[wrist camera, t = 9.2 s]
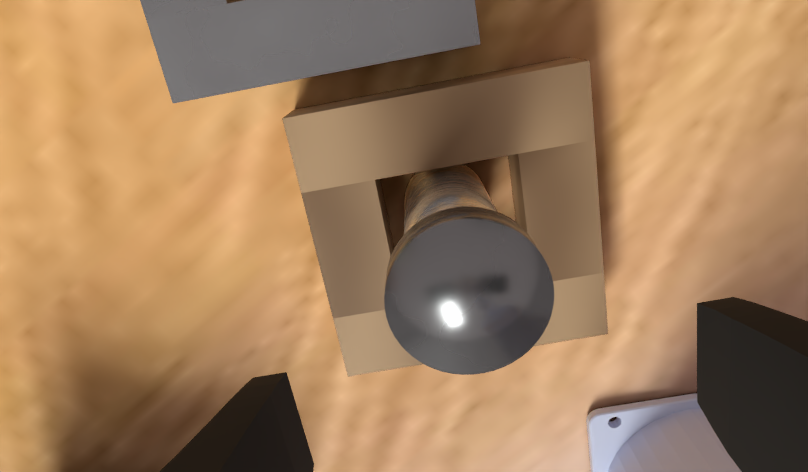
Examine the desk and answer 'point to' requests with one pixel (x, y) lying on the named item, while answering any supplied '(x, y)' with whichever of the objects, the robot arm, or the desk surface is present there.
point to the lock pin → (464, 278)
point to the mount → (295, 38)
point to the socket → (441, 147)
